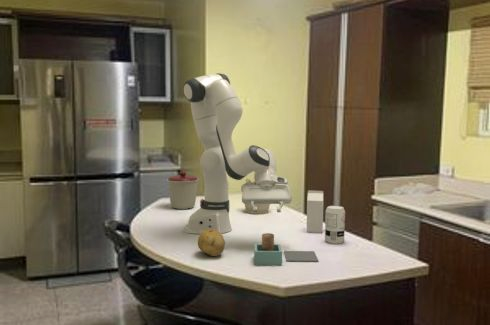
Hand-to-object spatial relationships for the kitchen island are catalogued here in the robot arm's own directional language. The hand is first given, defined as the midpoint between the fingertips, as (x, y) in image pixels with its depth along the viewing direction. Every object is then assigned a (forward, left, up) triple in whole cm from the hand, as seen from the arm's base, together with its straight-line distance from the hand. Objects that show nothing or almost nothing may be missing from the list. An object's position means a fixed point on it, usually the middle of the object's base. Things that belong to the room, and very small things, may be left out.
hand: (267, 211), depth 193 cm
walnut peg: (0, -12, -16) cm, 20 cm away
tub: (0, -12, -16) cm, 20 cm away
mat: (+13, -7, -16) cm, 22 cm away
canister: (-44, +82, -16) cm, 94 cm away
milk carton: (+24, +33, -16) cm, 44 cm away
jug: (-2, +73, -16) cm, 75 cm away
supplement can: (+30, +15, -16) cm, 37 cm away
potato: (-22, -5, -16) cm, 28 cm away
